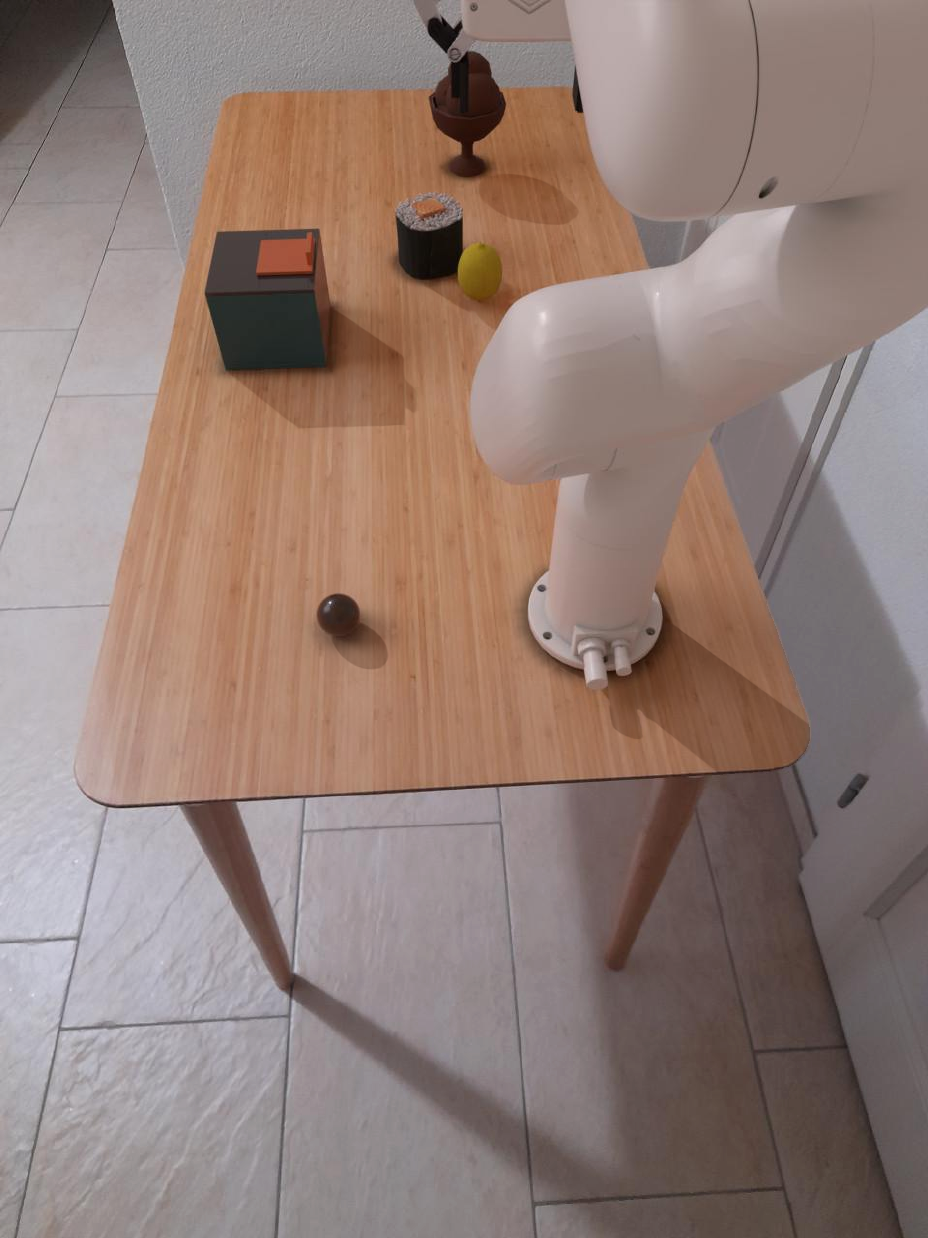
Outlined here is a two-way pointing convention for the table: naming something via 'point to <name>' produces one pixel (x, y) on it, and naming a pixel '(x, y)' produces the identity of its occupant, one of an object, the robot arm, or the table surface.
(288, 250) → the slider
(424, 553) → the table surface
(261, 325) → the sliding lid box
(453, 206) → the sushi
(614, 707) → the table surface
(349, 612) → the ball
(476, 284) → the lemon
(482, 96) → the ice cream bowl
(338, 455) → the table surface
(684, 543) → the table surface
